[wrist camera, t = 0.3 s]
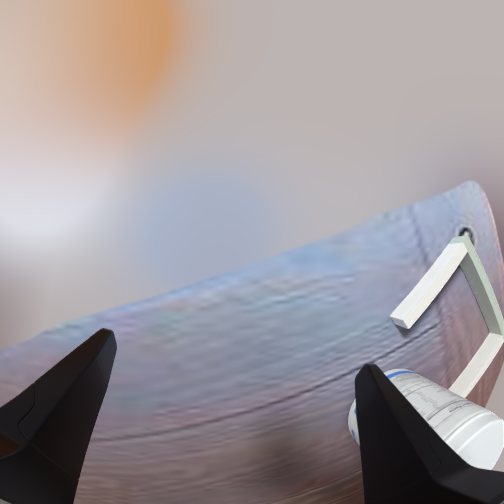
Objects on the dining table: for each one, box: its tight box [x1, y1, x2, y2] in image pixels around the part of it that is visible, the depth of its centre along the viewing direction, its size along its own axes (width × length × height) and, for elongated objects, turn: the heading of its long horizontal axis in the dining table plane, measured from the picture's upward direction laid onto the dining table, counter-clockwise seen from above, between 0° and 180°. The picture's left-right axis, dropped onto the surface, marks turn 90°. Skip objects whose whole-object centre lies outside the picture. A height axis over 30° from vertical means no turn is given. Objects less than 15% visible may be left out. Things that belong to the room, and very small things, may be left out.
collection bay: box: [390, 235, 504, 398], centre depth 25 cm, size 12×16×2 cm
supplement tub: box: [348, 369, 504, 470], centre depth 18 cm, size 10×10×15 cm
